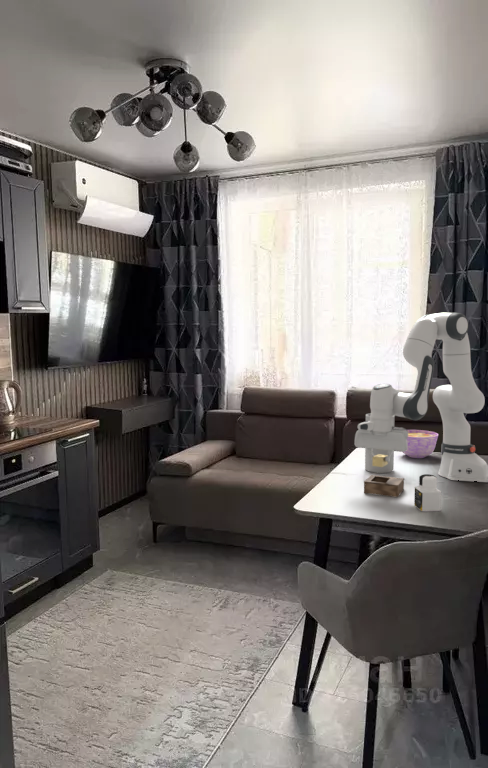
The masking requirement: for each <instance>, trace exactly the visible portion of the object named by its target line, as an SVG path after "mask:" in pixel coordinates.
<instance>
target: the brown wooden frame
mask: <svg viewBox="0 0 488 768" xmlns="http://www.w3.org/2000/svg"><path fill="white" fill-rule="evenodd" d="M404 489H405V478H403V477H394V476H385V475H376V474H370V476H368V477H367V478H366V479H365V480H364V481H363V493H364V494H370V495H371V494H372V495H378V496H387V497H395V498H398V497H400V495H401V494H402V493H403V491H404Z"/></svg>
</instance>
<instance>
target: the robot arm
mask: <svg viewBox="0 0 488 768" xmlns="http://www.w3.org/2000/svg"><path fill="white" fill-rule="evenodd" d="M468 331H469V321H468V318H467V317H466V315H465V314H463V313H460V312H448V311H447V312H438V313H427V314H425V315H422V316H421V317H419V319H417V320H416V321H415V322H414V324H413V325H412V328H411V329H410V330H409V333H408V335H407V337H406V340H405V342H404V346H403V349H402V355H403V357H404V360H405V361H406V362H407V363H408V364H409V365H411V366H412V367H413V368H415V369H416V370H417V376H416V382H415V386H414V390H413V391H412V392H411V393H409V392H402V391H399V390H397V389H396V388H394V387H393V385H392V384H389V383H382V384H381V383H380V384H376V385H374V386H373V387H372V389H371V392H370V398H369V399H370V401H369V408H370V413H371V415H370V421H366V420H365V421H363V422H360V423H358V424H357V429H358V430H356V432H355V434H354V446H355V448H359V449H365V448H368V452H369V454H370V455H371V460H373V457H374V456H376V455H373V453H372V451H373V449H379V450H388V453H390V454H389V455H388V456H386V457H385V461H386V462H389V461H390V456H391V455H392V453H393V451H394V452H400V453H401V452H402V453H403V452H405V451H406V450H407V438H408V431H407V430H408V429H406V428H405V427H402V426H401V427H398V426H394V427H393V415H394V416H395V417H400V418H404V419H409V420H413V421H418V420H421V419H422V418H424V417H425V415H426V414H427V412H428V410H429V396H430V392H431V386H432V381H433V377H434V376H433V375H434V371H435V362H434V361H435V360H434V359H433V358H432V354H433V351H434V347H435V346H436V345H435V344H436V340H440V341H441V340H442V370H443V374H444V375H445V376H446V378H447V379H448V380H449V383H450V384H441V385H439V386H437V387H436V388H434V390H433V392H432V401H433V403H434V404H435V405H436V407H437V408H438V411H439V413H440V417H441V421H442V431H443V432H442V433H443V434H442V442H441V451H440V452H441V460H440V465H439V470H438V473H437V474H438V476H440V477H443V478H447V479H448V480H451V481H458V480H459V481H460V482H474V481H477V482H479V483H488V463H487V462H486V461H485V460H484V459H483V458H482V457H481V456H479V455H478V454H477V453H475V452H476V446H475V445H474V444H472V443H471V431H472V430H471V424H470V423H469V422H468V420H467V419H466V417H465V414H475V413H479V412H480V411H482V409H484V406H485V399H486V398H485V396H484V393H483V392H482V391H481V390H480V389H479V387H478V385H477V384H476V382H475V379H474V376H473V372H472V362H471V361H472V360H471V344H470V339H469V335H468ZM404 430H406V431H404Z"/></svg>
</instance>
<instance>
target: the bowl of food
mask: <svg viewBox="0 0 488 768" xmlns="http://www.w3.org/2000/svg"><path fill="white" fill-rule="evenodd" d="M406 430H407V431H408V438H407V450H406V451H405V452H402V453H403V454H404V455H407V456H408V458H413V459H424V458H426V457H428V456H430V455H431V454H433V452H434V450H435V448H436V444H437V441H438V438H439V433H437V432H435V431H431V430H430V431H429V430H423V429H422V430H421V429H406ZM406 430H404V431H406Z"/></svg>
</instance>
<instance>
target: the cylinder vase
mask: <svg viewBox="0 0 488 768" xmlns="http://www.w3.org/2000/svg"><path fill="white" fill-rule="evenodd" d="M370 415H371V412H370V413H366V414H365V422H366V421H370ZM395 417H396V416H395V415H393V427H395ZM364 450H365V451H364V469H365V470H366V471H367V472H369V473H374V474H388V473H392V472H393V471H394V464H395V463H394V461H395V460H394V457H395V456H394V455H395V454H394V452H395V451H393V453H392V455H391V456H390V461H389V462H388V464H387V465H385V466H383V467H377V466H372V463H373V460H371V455H370V454H369V452H368V448H364ZM372 453H373V455H378V454H380V455H389V454H390V453H388V450H379V449H373V451H372Z"/></svg>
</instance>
